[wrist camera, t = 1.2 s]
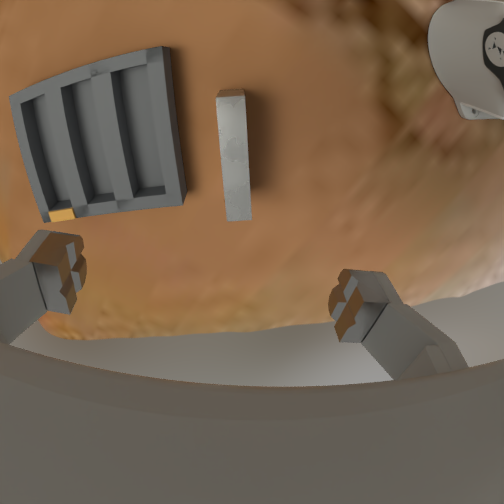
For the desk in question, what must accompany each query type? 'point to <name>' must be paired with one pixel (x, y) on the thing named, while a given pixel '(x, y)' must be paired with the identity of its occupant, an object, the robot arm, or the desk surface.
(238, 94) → the panel
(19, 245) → the desk surface
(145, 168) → the rack
